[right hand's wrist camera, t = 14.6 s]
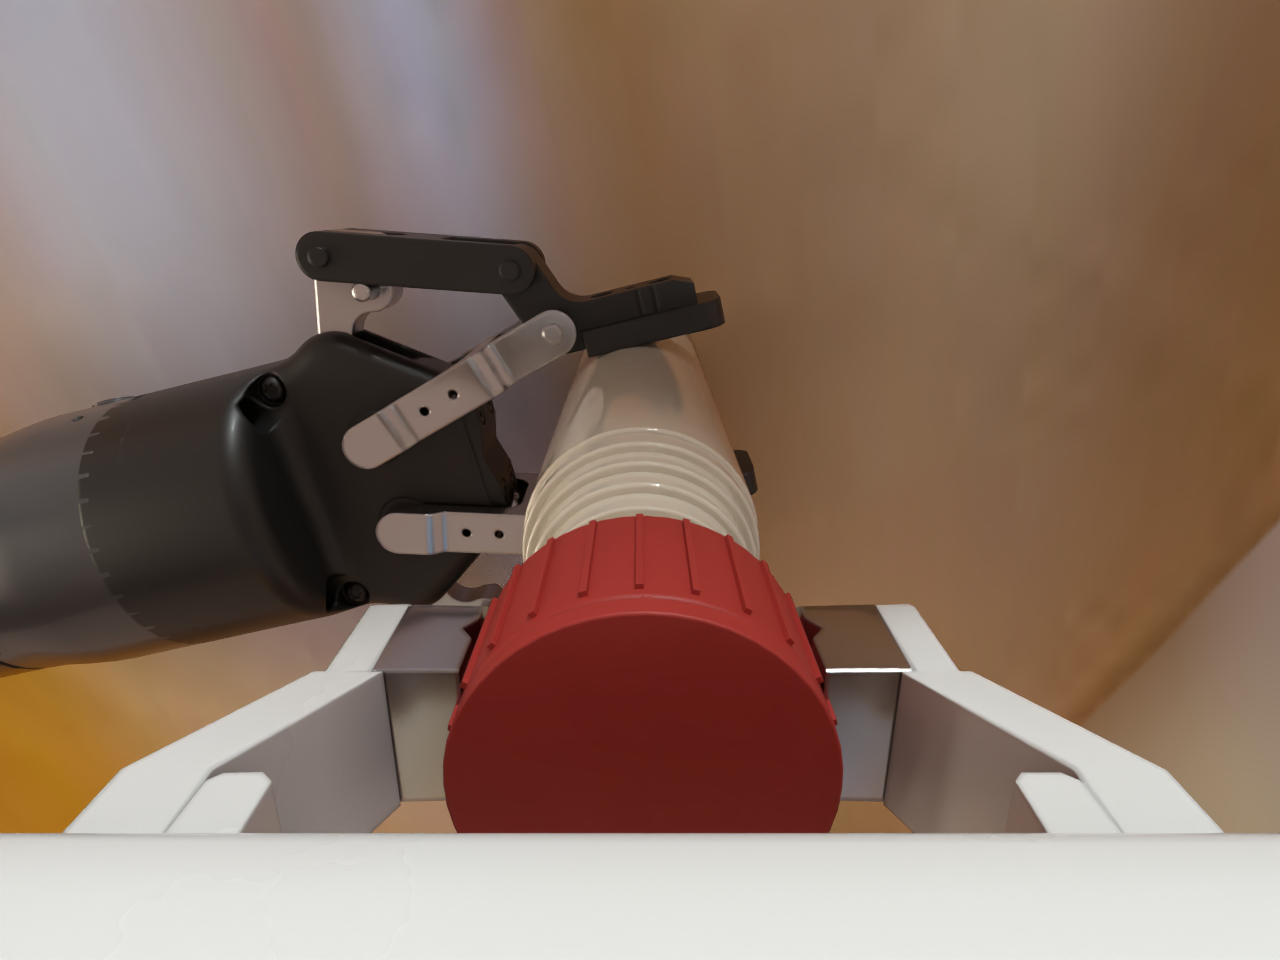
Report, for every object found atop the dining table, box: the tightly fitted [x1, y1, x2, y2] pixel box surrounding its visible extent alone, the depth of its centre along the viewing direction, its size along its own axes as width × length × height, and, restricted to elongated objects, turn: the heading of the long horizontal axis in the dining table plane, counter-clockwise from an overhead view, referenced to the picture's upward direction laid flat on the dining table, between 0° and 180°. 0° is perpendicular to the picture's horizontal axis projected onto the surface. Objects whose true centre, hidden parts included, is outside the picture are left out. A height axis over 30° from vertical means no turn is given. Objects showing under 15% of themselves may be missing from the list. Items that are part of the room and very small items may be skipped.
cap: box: [443, 514, 843, 833], centre depth 9 cm, size 4×4×2 cm
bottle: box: [522, 335, 760, 563], centre depth 18 cm, size 4×4×20 cm
